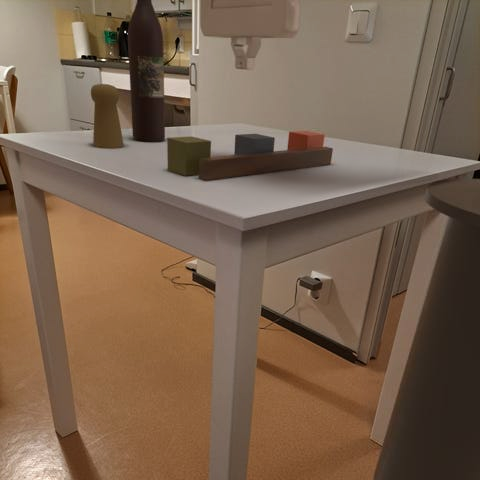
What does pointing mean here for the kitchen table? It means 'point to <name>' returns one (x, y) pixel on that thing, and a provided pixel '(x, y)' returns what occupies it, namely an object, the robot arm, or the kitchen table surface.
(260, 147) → the slate-blue block
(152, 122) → the wine bottle
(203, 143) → the olive block
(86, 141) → the kitchen table surface
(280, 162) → the straightedge
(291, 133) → the terracotta block
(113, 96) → the cork
